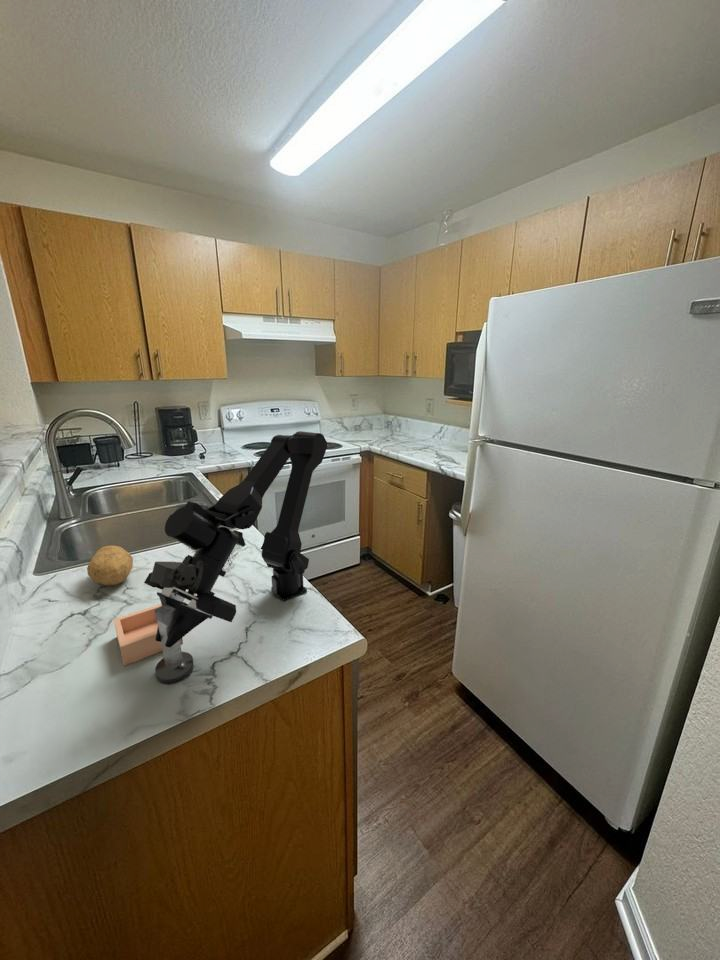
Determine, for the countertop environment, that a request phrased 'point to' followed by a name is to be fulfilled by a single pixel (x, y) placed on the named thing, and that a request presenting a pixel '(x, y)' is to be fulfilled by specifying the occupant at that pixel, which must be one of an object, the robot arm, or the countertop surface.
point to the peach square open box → (138, 635)
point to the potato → (110, 565)
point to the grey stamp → (171, 650)
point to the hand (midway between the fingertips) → (162, 643)
